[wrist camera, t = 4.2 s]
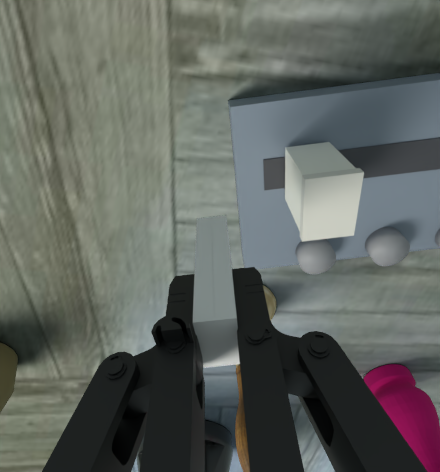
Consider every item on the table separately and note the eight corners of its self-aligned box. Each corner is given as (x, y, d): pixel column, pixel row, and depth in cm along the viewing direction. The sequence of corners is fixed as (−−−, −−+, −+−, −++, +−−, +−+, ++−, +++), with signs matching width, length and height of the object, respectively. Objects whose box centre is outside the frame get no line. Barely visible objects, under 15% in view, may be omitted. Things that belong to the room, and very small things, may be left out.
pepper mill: (380, 356, 40) (503, 590, 24) (424, 366, 42) (565, 589, 26) (348, 386, 44) (434, 605, 28) (389, 394, 46) (493, 604, 29)
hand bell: (279, 325, 36) (322, 502, 23) (208, 337, 36) (211, 515, 23) (272, 272, 31) (322, 456, 18) (191, 286, 32) (182, 474, 19)
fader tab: (283, 199, 24) (301, 241, 19) (283, 146, 21) (304, 179, 17) (325, 194, 24) (353, 235, 19) (330, 140, 21) (364, 172, 17)
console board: (242, 256, 30) (247, 286, 26) (228, 100, 22) (232, 114, 18) (499, 226, 29) (537, 253, 26) (582, 54, 21) (652, 60, 18)
